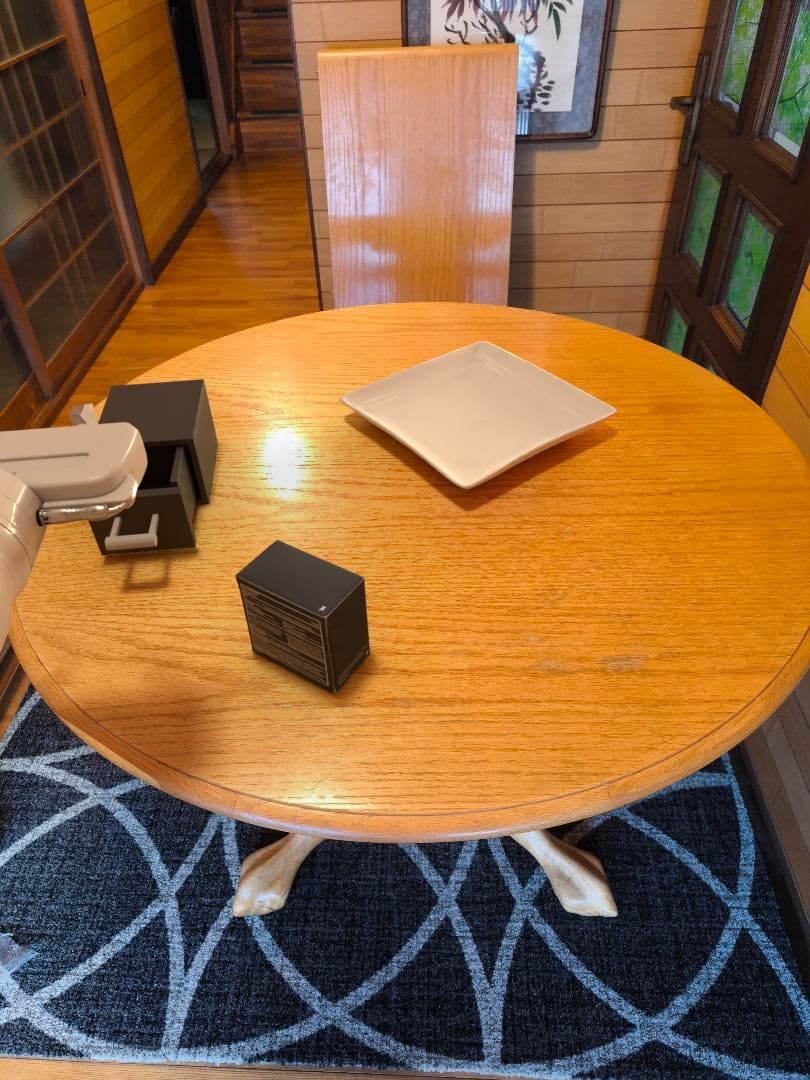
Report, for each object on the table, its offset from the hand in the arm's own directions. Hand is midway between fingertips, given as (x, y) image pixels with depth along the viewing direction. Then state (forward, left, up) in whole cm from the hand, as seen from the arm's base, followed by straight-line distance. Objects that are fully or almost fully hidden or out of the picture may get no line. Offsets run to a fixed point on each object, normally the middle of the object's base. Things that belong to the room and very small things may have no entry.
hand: (25, 416), depth 61 cm
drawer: (+2, +15, -25) cm, 29 cm away
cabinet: (+2, +27, -26) cm, 38 cm away
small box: (+20, -5, -26) cm, 33 cm away
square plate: (+43, +33, -26) cm, 60 cm away
